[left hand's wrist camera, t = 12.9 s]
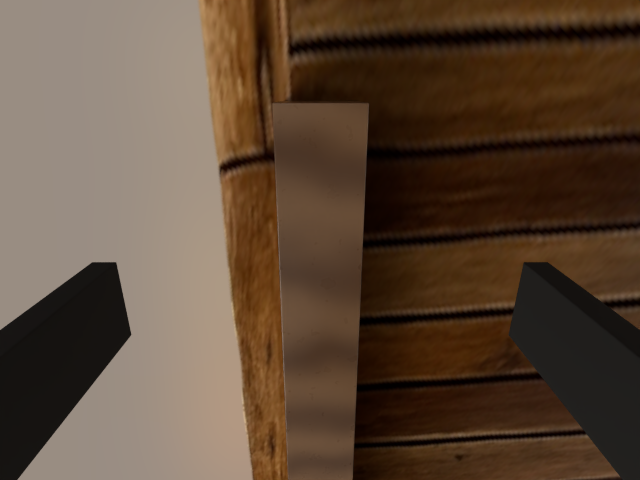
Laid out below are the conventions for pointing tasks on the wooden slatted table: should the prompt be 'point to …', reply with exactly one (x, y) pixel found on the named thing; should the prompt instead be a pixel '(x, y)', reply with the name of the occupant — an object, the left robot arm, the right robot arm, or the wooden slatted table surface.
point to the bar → (320, 277)
